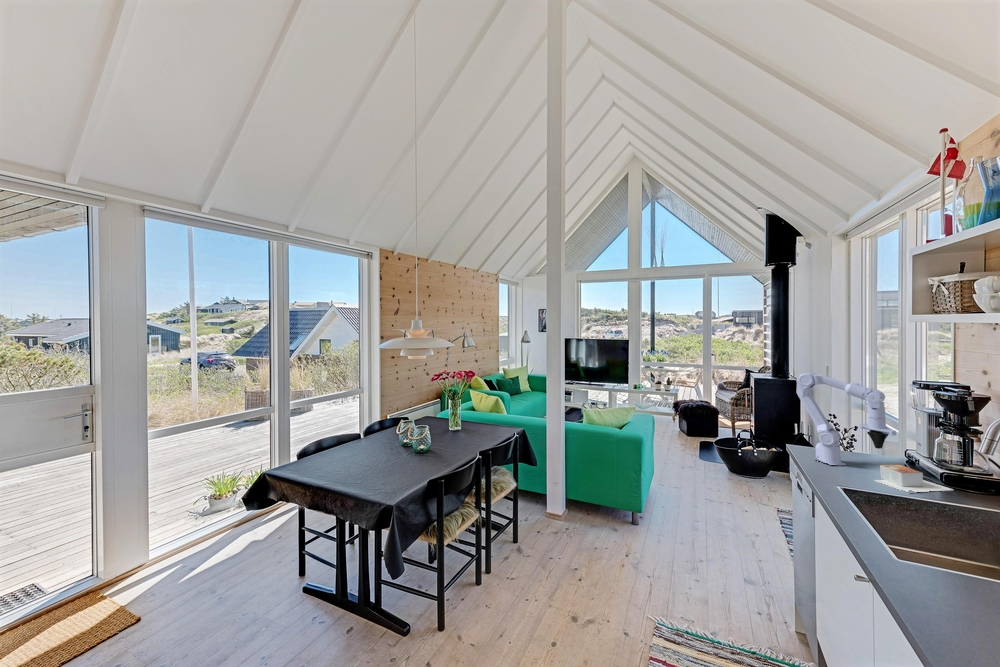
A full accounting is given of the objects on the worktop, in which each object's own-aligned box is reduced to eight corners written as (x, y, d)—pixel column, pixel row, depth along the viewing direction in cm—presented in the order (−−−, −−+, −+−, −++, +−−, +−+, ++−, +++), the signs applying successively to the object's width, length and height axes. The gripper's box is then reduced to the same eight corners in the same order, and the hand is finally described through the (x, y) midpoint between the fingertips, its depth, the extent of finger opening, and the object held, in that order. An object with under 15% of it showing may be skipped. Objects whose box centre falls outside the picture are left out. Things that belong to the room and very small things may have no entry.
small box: (899, 464, 171) (923, 472, 160) (900, 477, 170) (924, 486, 160) (879, 464, 171) (901, 472, 161) (880, 478, 171) (902, 487, 161)
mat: (874, 481, 169) (874, 480, 169) (914, 478, 170) (914, 477, 170) (909, 493, 155) (909, 492, 155) (953, 490, 156) (953, 489, 156)
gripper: (902, 420, 173) (904, 451, 173) (869, 414, 187) (871, 443, 187) (886, 421, 173) (888, 452, 172) (855, 415, 187) (857, 444, 187)
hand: (878, 448), depth 180 cm, fingers closed
